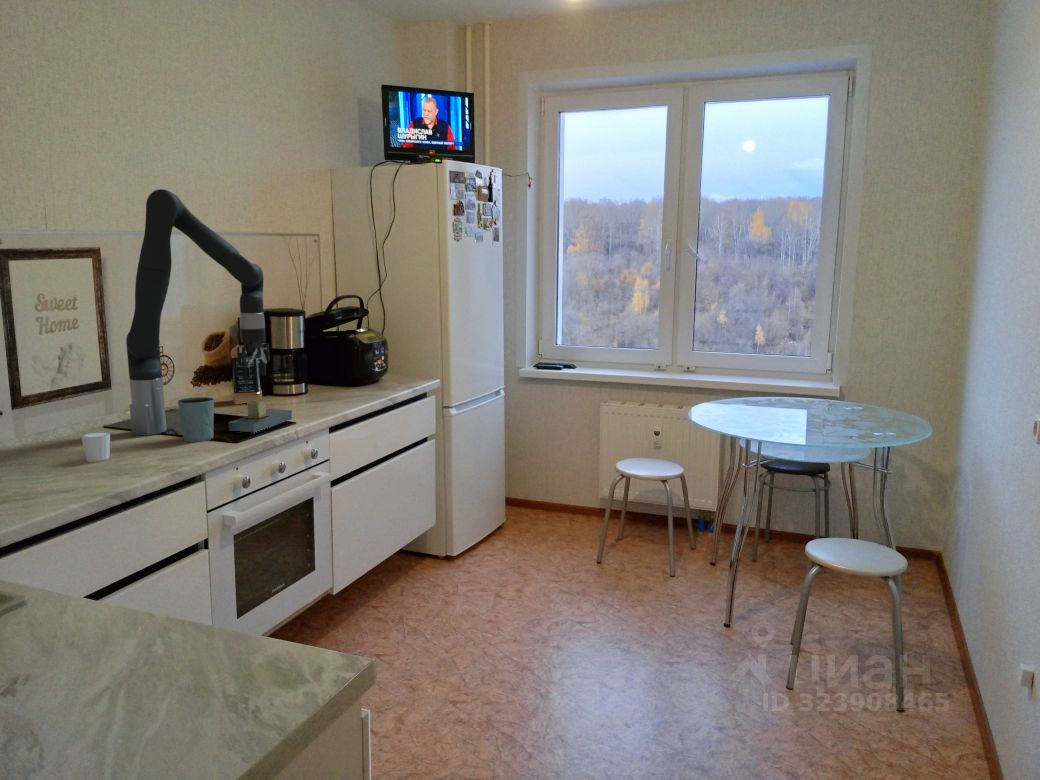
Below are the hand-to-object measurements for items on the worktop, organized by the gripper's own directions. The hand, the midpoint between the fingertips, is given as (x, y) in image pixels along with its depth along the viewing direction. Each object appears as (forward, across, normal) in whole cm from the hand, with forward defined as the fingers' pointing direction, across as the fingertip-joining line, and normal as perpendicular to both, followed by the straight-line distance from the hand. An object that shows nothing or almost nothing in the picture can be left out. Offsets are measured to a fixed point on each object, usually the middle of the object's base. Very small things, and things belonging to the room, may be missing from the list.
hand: (254, 377), depth 250 cm
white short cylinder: (+17, -47, +19) cm, 53 cm away
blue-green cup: (+17, -19, +8) cm, 26 cm away
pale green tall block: (+16, 0, 0) cm, 16 cm away
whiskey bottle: (+16, +36, +28) cm, 49 cm away
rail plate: (+16, +2, 0) cm, 16 cm away
